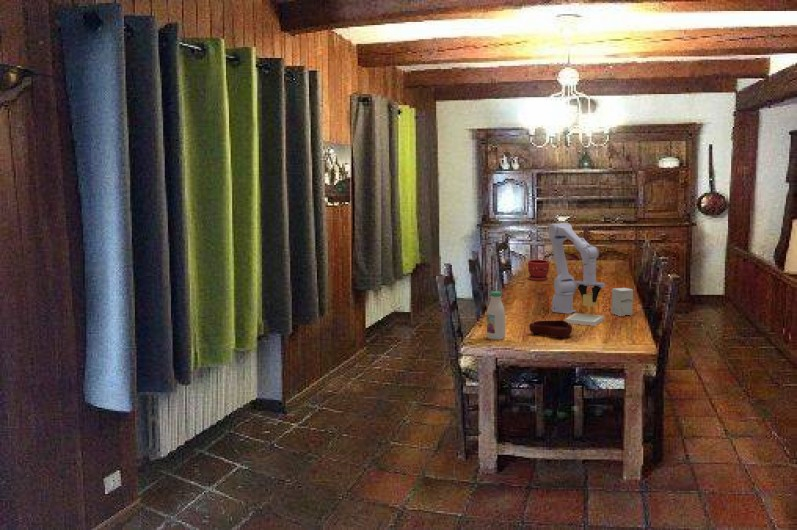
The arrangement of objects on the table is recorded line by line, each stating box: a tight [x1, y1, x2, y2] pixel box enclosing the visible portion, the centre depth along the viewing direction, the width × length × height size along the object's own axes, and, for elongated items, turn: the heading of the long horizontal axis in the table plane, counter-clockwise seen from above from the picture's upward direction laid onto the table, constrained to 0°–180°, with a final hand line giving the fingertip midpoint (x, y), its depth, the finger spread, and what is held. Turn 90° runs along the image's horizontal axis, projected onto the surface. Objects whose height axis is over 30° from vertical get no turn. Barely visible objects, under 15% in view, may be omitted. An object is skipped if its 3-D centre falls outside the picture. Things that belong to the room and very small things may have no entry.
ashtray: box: [529, 320, 573, 340], centre depth 311 cm, size 18×16×5 cm
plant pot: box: [527, 259, 550, 282], centre depth 453 cm, size 13×13×12 cm
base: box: [564, 312, 605, 327], centre depth 334 cm, size 14×14×2 cm
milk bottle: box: [486, 290, 506, 341], centre depth 306 cm, size 8×8×20 cm
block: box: [582, 292, 597, 307], centre depth 338 cm, size 5×5×5 cm
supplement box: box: [610, 287, 634, 317], centre depth 346 cm, size 7×7×13 cm
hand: (589, 301), depth 337 cm, fingers closed on block, 5 cm apart
